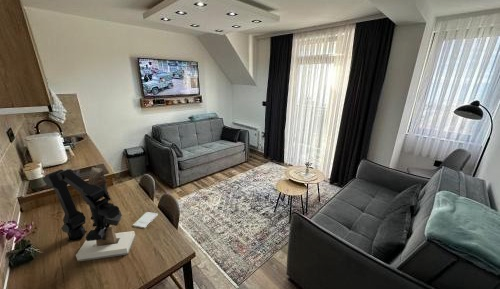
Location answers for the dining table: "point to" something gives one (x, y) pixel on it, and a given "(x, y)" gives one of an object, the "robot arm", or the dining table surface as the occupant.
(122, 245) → the slotted board
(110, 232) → the walnut plate
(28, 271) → the dining table surface
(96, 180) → the owl
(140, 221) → the external hard drive
